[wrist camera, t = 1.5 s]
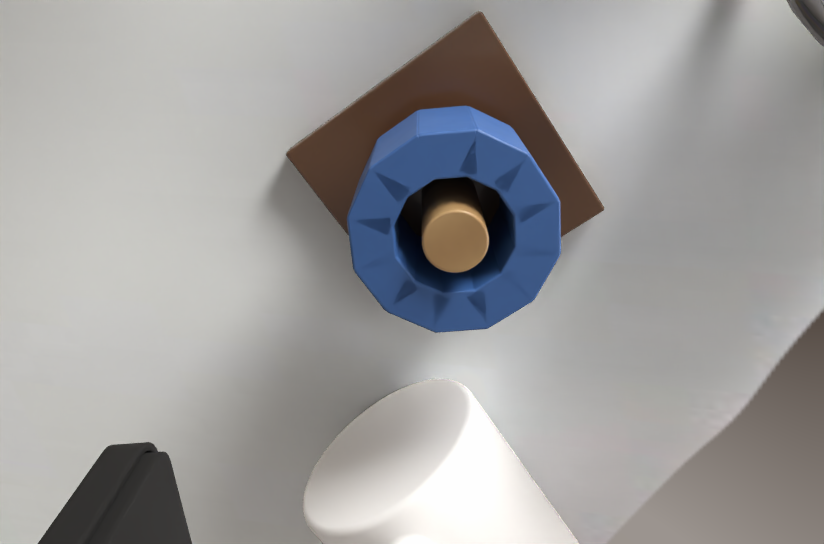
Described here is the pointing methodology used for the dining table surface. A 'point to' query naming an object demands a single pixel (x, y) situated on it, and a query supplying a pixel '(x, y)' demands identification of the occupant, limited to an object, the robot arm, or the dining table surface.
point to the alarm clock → (810, 16)
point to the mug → (427, 477)
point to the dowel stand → (454, 197)
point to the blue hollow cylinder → (508, 231)
